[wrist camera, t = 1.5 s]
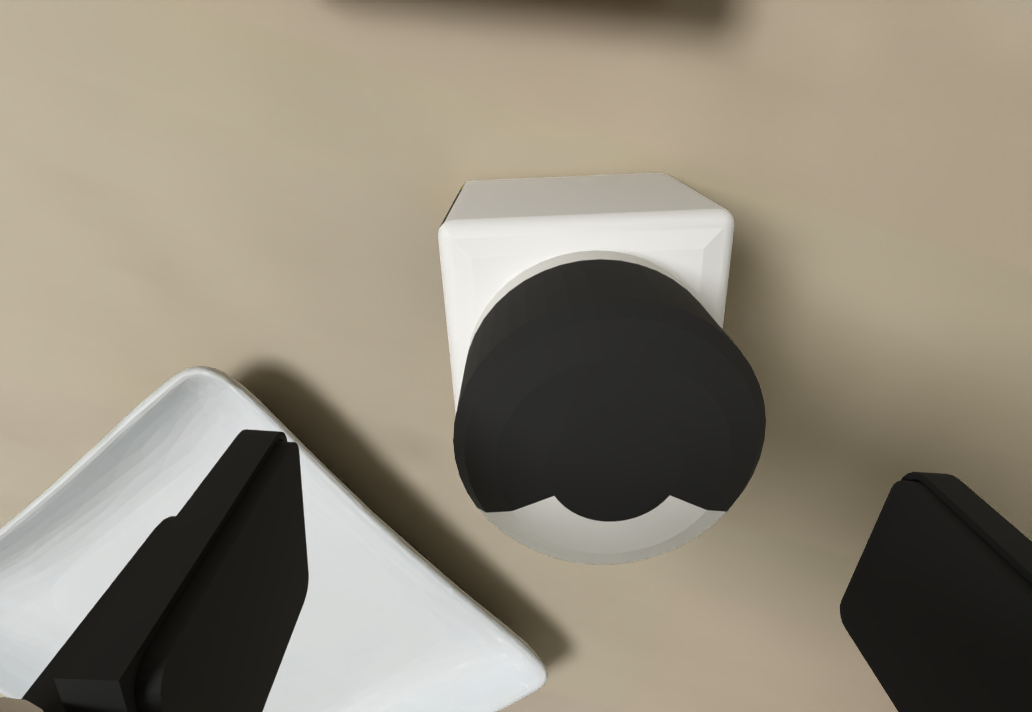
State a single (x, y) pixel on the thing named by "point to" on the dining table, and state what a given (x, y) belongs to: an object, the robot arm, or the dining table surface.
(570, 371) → the medicine bottle
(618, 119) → the dining table surface
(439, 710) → the salad plate
